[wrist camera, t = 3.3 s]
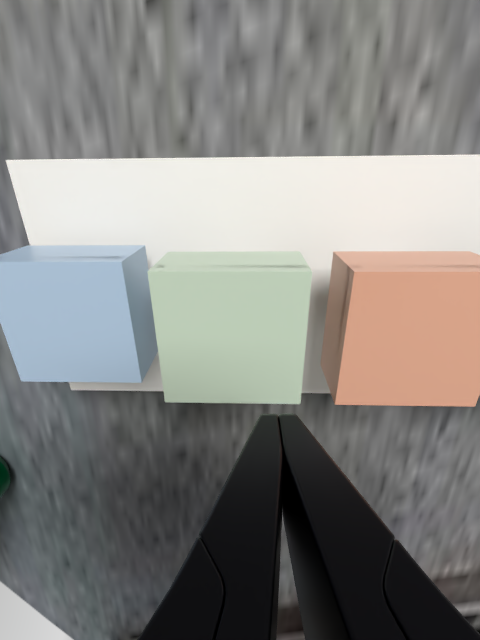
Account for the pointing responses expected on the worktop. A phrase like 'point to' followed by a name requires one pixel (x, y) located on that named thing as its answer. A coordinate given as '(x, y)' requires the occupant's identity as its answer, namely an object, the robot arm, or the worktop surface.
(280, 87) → the worktop surface
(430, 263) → the key terracotta
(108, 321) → the key blue
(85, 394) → the worktop surface
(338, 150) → the worktop surface
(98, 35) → the worktop surface
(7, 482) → the soda can
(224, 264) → the key sage
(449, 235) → the keypad
